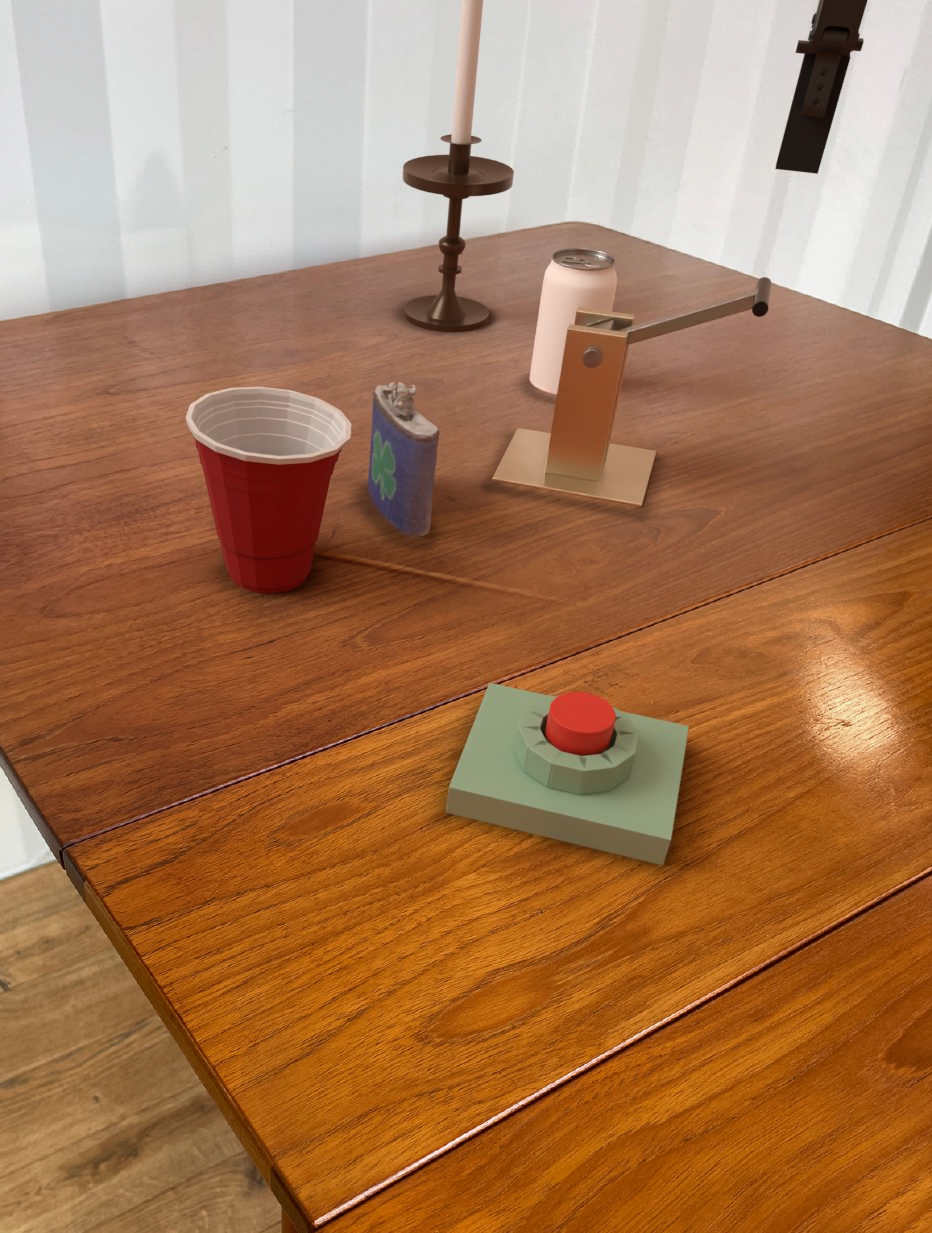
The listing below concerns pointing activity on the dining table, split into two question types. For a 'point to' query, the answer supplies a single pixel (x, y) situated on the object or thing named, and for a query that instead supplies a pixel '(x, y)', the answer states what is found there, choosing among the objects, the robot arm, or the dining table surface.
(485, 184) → the candlestick
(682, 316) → the lever
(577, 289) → the can
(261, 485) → the plastic cup
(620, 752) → the button block
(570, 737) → the button
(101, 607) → the dining table surface
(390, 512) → the flask
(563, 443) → the bracket
